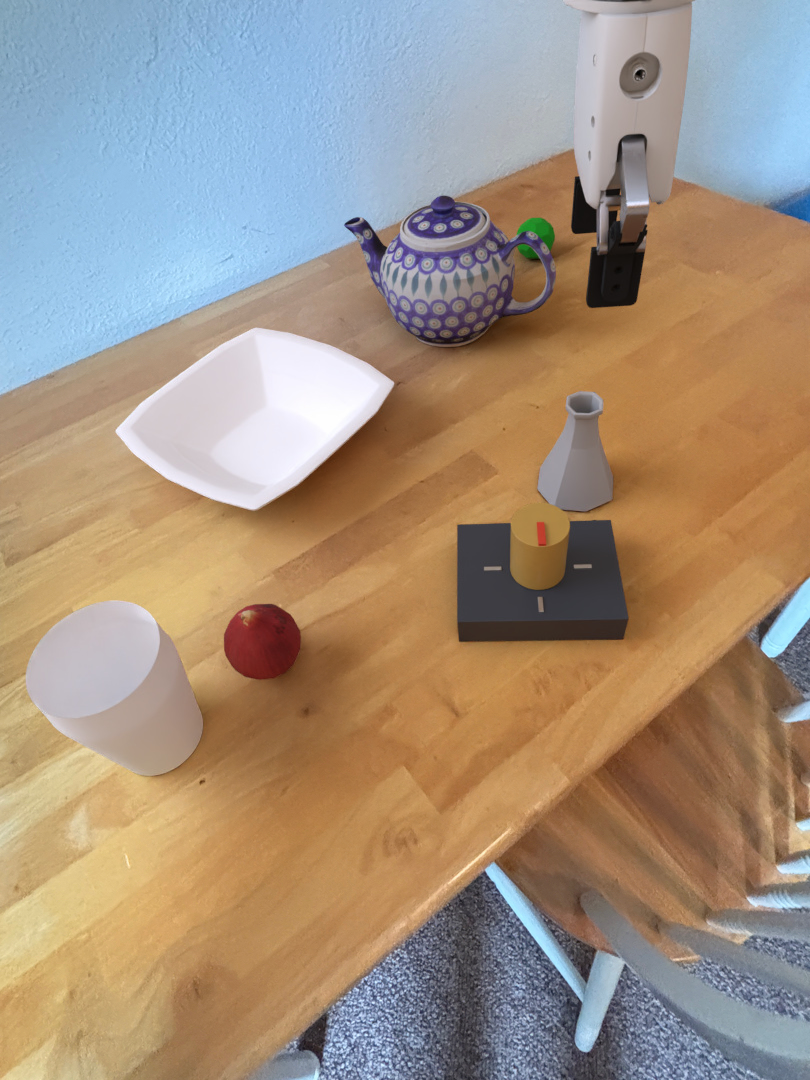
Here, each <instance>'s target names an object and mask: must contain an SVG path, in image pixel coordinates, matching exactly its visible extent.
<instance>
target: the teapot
mask: <svg viewBox="0 0 810 1080" xmlns="http://www.w3.org/2000/svg"><path fill="white" fill-rule="evenodd" d="M343 226H344V227H345V228H346V229H347V230H348V231H350V233H352V234H353V236H354V237H355V239H357V241H358V244H359V245H360V248H361V251H362V254H363V257H364V260H365V263H366V266H367V269H368V273H369V276H370V278H371V281H372V282H373V284H374V287H376V289H377V291H378V292H379V294H380V295H381V296H382V297H383V298H384V299H385V303H386V305H387V307H388V309H389V311H390V313H391V315H392V317H393V319H394V320H395V321H396V322H397V324H398V325H399V326H400V327H401V328H402V329H404V330H405V331H407V333H409V334H411V335H412V336H414V337H415V338H416V340H418V341H419V342H420V343H423V344H425V345H428V346H431V347H432V346H433V347H440V348H452V347H453V348H456V347H461V346H466V345H467V344H470V343H472V342H474V341H476V340H478V339H479V338H480V337H482V336H483V335H484V334H486V332H487V331H488V330H489V329H490V327H492V326H493V325H494V324H495V323H496V322H498V321H499V320H501V319H503V318H508V317H514V316H515V317H516V316H521V315H526V314H529V313H533V312H534V311H536V310H538V309H540V308H542V307H543V306H544V305H545V304H546V302H547V301H548V300H549V299H550V298H551V296H552V294H553V292H554V288H555V284H556V278H557V267H556V264H555V260H554V257H553V255H552V253H551V250H550V251H549V249H548V247H547V246H546V244H545V243H544V242H543V241H542V239H541V238H540V237H539V236H538V235H536V234H535V233H533V232H531V231H524V232H522V233H520V234H518V235H517V236H516V235H515V236H513V237H512V238H510V239H509V237H508V235H506V234H505V232H504V231H503V230H502V229H500V228H499V227H498V226H497V225H496V223H494V222H493V221H492V220H491V217H490V214H489V213H488V211H487V210H486V209H485V208H483V207H482V206H480V205H477V204H475V203H471V202H465V201H455V199H454V198H453V197H451V196H450V195H439V196H437V197H435V198H434V199H432V201H431V202H430V204H428V205H424V206H421V207H419V208H417V209H415V210H413V211H411V212H410V213H409V214H408V215H407V216H406V217H404V219H403V220H402V221H401V224H400V227H399V233H398V234H396V235H395V236H394V238H393V239H392V240H391V241H390V243H389V244H388V246H386V245H385V244H384V243H383V242H382V241H381V239H380V237H379V236H378V235H377V233H376V231H375V230H374V228H373V227H372V225H371V224H370V222H368V221H367V219H365V218H364V217H361V216H355V217H353V218H350V219H348V220H347V221H346V222H345V223H344V224H343ZM521 244H525V245H528V246H530V247H531V248H532V249H533V250H534V251H535V252H536V253H537V255H538V256H539V259H540V262H541V263H542V266H543V269H544V272H545V285H544V289H543V290H542V292H541V293H540V294H539V295H538V296H537V297H535V298H534V299H531V300H528V301H525V302H519V301H517V300H515V298H514V297H513V296H512V293H513V290H514V284H515V283H514V282H515V273H516V272H515V271H516V261H515V258H514V257H515V251H516V249H517V246H519V245H521Z"/></svg>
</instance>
